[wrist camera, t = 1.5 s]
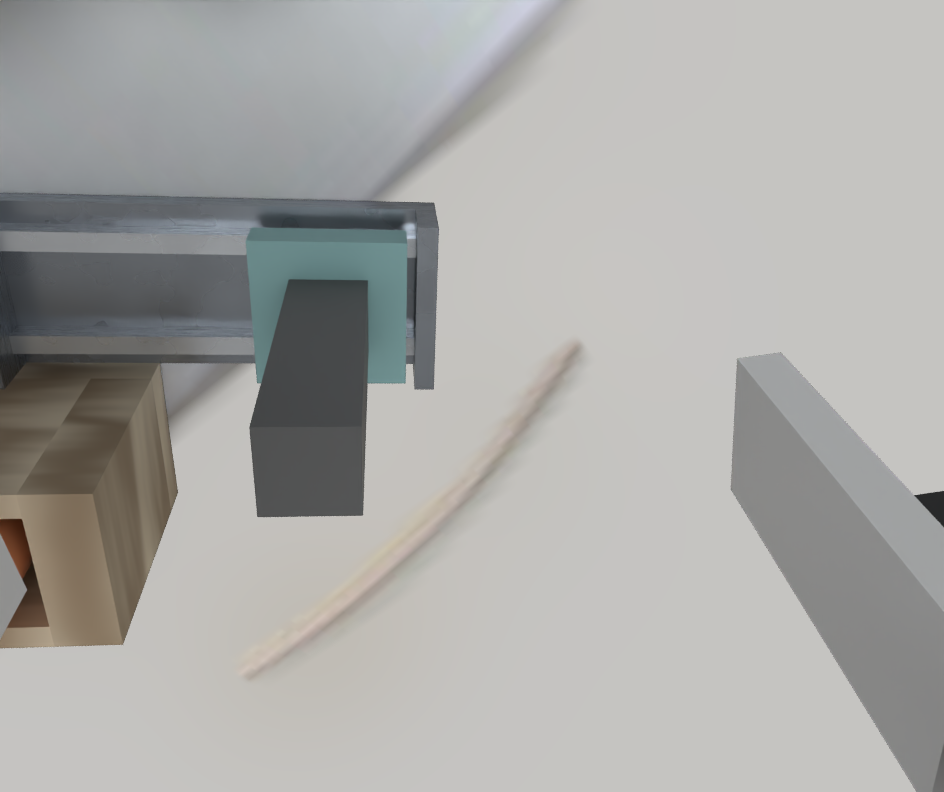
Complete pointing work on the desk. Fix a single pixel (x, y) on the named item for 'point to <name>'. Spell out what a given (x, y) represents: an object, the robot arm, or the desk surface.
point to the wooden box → (84, 495)
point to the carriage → (321, 360)
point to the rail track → (171, 276)
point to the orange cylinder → (16, 543)
